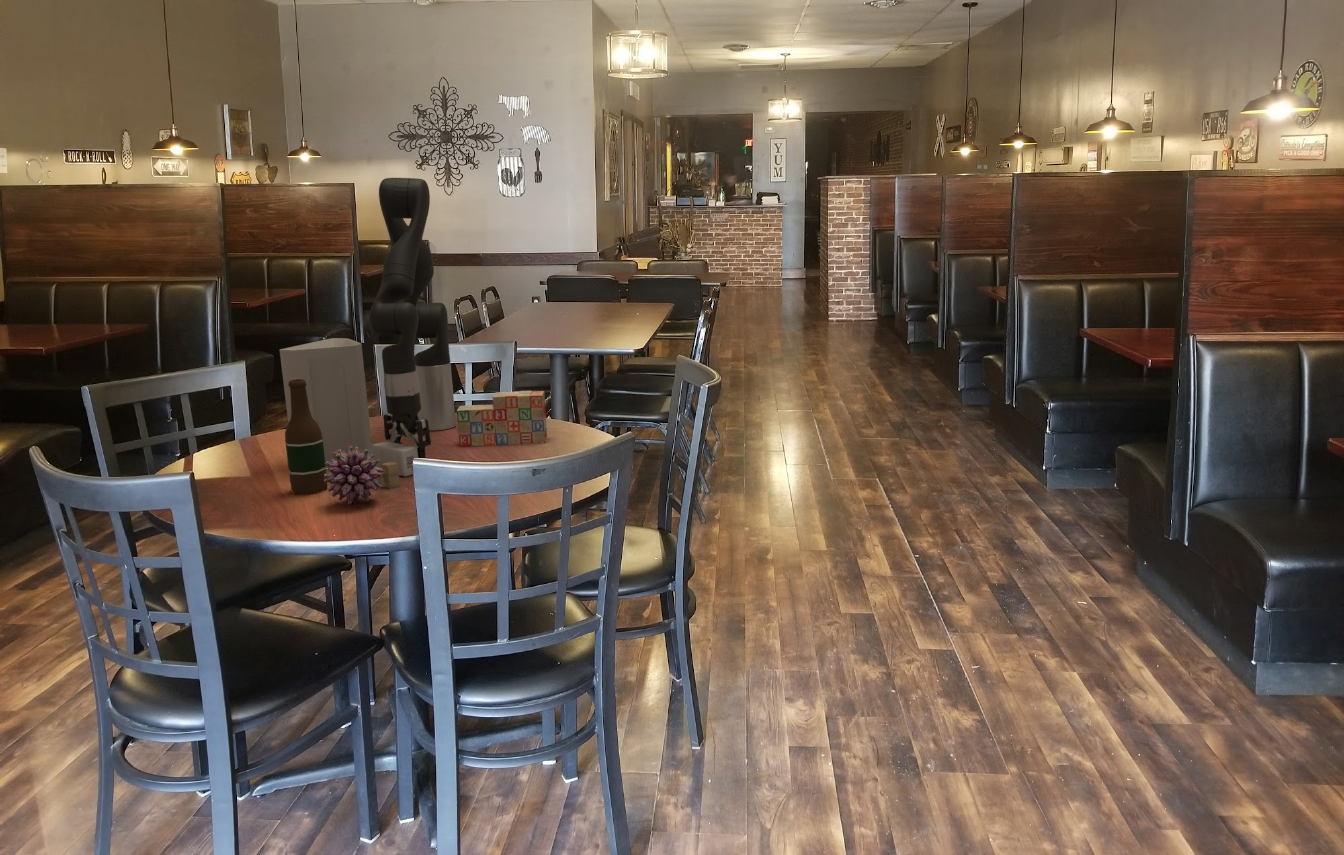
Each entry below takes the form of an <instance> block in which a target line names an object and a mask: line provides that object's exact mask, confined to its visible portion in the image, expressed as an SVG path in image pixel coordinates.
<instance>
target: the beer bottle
mask: <svg viewBox="0 0 1344 855" xmlns="http://www.w3.org/2000/svg"><path fill="white" fill-rule="evenodd" d="M306 385H307V384H306V381H305V380H303V379H295V380H291V381H289V384H288V386H289V387H290V396H291V419H290V421H289V423H287V425H286V428H285V432H284V439H285V440H284V442H285V443H284V444H285V450H286V458H287V467H288V474H289V484H290V488H291V491H292V493H293V494H294V495H299V494H308V495H314V494H313V493H315V494H318V493H317V492H320V493H322V492H324V491H327V490H328V489H329V488H328V486H329V485H328V482H324V479H327V478H325V476H324V474H327V473H328V472H327V469H326V465H325V455H324V447H323V438H322V433H321V430H320V428H319V426H318V424H317V423H316V422H315V420H314V419H313V418H312V416H311V413H310V409H309V403H308V398H307V392H306V387H305V386H306ZM323 490H324V491H323ZM321 491H322V492H321Z"/></svg>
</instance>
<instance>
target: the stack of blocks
mask: <svg viewBox="0 0 1344 855" xmlns="http://www.w3.org/2000/svg"><path fill="white" fill-rule="evenodd" d="M545 397H546V396H545V390H534V391H532V390H520V391H508V392H507V391H502V392H501V391H499V392H498V391H497V392H495V393H494V394H493V396H492V404H472V405H460V406H459V407H458V408H457V410H456V411H455V413H456V421H457V422H456V423H457V434H458V444H459V447H478V446H479V447H481V446H504V445H505V446H506V445H524V444H523V443H533V444H539V443H538V442H545V440H546V441H547V439H546V437H547V438H548V432H547V429H548V428H547V410H546V398H545ZM545 443H546V442H545Z"/></svg>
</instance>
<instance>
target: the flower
mask: <svg viewBox="0 0 1344 855" xmlns="http://www.w3.org/2000/svg"><path fill="white" fill-rule="evenodd" d="M337 452H338V454H336V457H337V460H334V459H332V460H331V461H332V462H328V461H326V463H325V465H327V466H328V467H329V468H328V469H327V471H329V472H326V473H327V474H324V476H325V478H327V479H324V482H327V483H330V484H332V485H331V486H330V488H327V491H328V492H331V491H332V492H331V494H330V495H331V496H332V497H333V498H335V497H336V496H338V495H339V498H338V501H342V500H343V499H344V498H346V499H347V503H348V505H352V503H353V504H358V499H359V497H360V498H362V499H365V501H366V502H368V501H370V497H371V496H372V493H371V490H374V491H377V490H378V489H382V485H380V484H379V483H378V481H376V480H375V479H376V478H377V477H379V476H382V472H383V469H377V468H374V467H375V466H376V465H377V463H378V462H380V461H379V459H377V460H372V459H373V457H374V455H373V454H371V455H369V456H367V453H368V450H367V449H365V451H364V452H363V453H361V454H360V453H359V447H356V448H355V450H353V447H350V450H349V452H348V454H346V453H344V452H343V451H342V450H341V449H339V450H338V451H337Z"/></svg>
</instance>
